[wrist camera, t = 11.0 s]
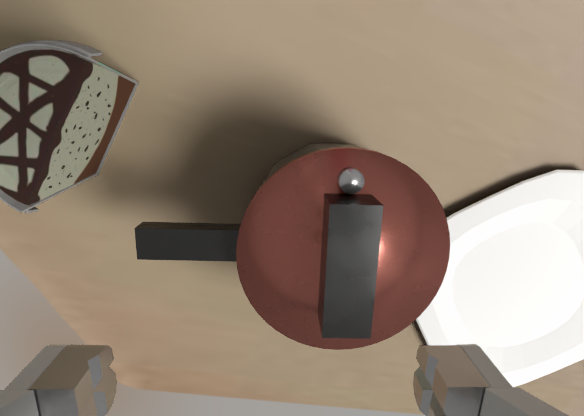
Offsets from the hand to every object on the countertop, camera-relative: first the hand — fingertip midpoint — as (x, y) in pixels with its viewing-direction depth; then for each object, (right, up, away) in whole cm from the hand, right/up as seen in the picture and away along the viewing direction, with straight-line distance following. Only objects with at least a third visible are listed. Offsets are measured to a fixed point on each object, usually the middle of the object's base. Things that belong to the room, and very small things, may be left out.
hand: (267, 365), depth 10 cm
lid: (+4, +1, +17) cm, 18 cm away
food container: (-18, +13, +23) cm, 32 cm away
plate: (+24, -4, +29) cm, 38 cm away
